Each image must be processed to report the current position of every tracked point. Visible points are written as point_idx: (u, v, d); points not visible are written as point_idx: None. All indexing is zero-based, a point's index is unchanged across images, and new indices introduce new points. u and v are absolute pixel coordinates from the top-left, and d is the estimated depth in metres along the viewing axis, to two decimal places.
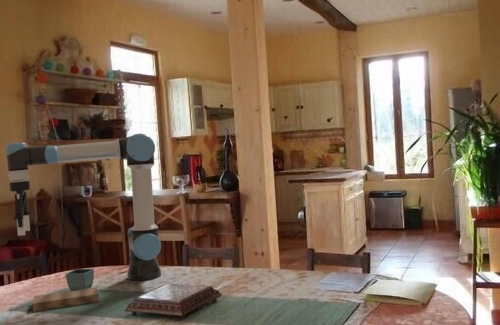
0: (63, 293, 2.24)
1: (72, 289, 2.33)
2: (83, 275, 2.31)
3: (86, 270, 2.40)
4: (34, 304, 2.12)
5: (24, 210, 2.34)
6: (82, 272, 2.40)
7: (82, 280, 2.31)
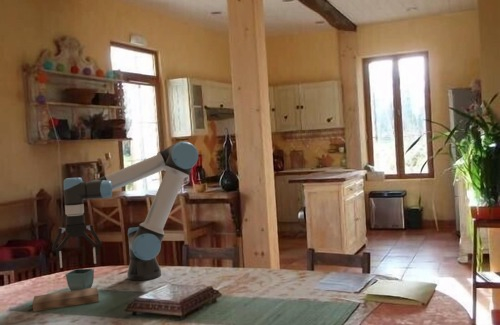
0: (63, 293, 2.24)
1: (72, 289, 2.33)
2: (83, 275, 2.31)
3: (86, 270, 2.40)
4: (34, 304, 2.12)
5: (91, 243, 2.37)
6: (82, 272, 2.40)
7: (82, 280, 2.31)
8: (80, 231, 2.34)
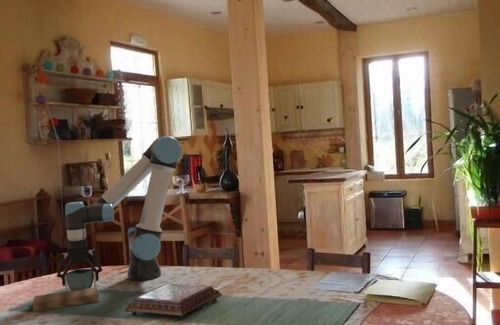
0: (63, 293, 2.24)
1: (72, 289, 2.33)
2: (83, 275, 2.31)
3: (86, 270, 2.40)
4: (34, 304, 2.12)
5: None
6: (82, 272, 2.40)
7: (82, 280, 2.32)
8: (82, 255, 2.35)
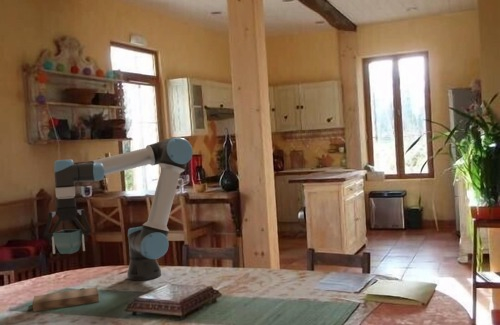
0: (63, 293, 2.24)
1: (59, 249, 2.26)
2: (70, 234, 2.23)
3: (75, 231, 2.32)
4: (34, 304, 2.12)
5: (80, 228, 2.30)
6: (71, 233, 2.32)
7: (69, 239, 2.24)
8: (71, 215, 2.27)
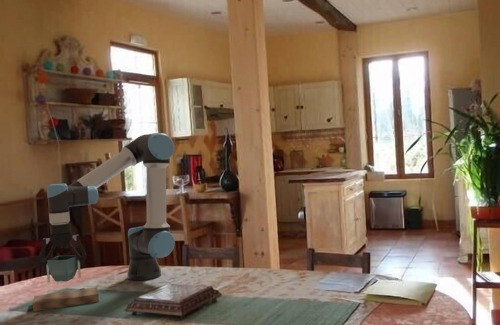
0: (63, 293, 2.24)
1: (54, 277, 2.18)
2: (66, 261, 2.16)
3: (70, 257, 2.24)
4: (34, 304, 2.12)
5: None
6: (65, 259, 2.25)
7: (65, 267, 2.16)
8: (65, 241, 2.19)
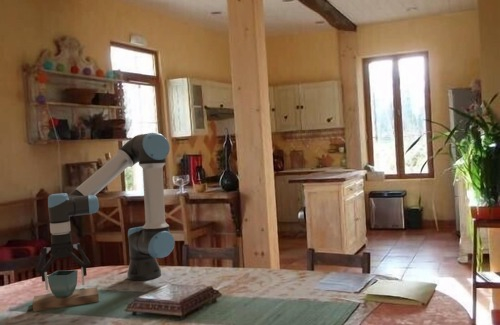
0: None
1: (54, 292, 2.18)
2: (67, 277, 2.16)
3: (69, 271, 2.24)
4: (34, 304, 2.12)
5: None
6: (65, 274, 2.24)
7: (65, 282, 2.16)
8: (66, 250, 2.19)
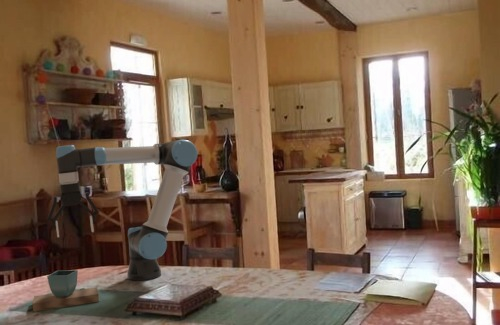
0: None
1: (54, 292, 2.18)
2: (67, 277, 2.16)
3: (69, 271, 2.24)
4: (34, 304, 2.12)
5: (87, 211, 2.33)
6: (65, 274, 2.24)
7: (65, 282, 2.16)
8: (76, 199, 2.30)
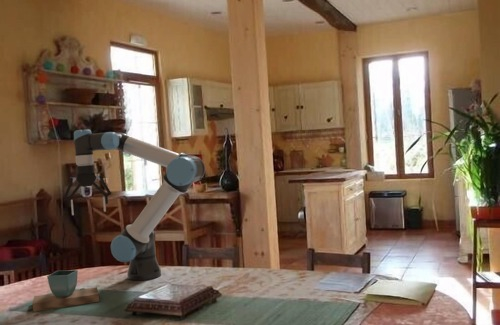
0: None
1: (54, 292, 2.18)
2: (67, 277, 2.16)
3: (69, 271, 2.24)
4: (34, 304, 2.12)
5: None
6: (65, 274, 2.24)
7: (65, 282, 2.16)
8: (90, 180, 2.46)
